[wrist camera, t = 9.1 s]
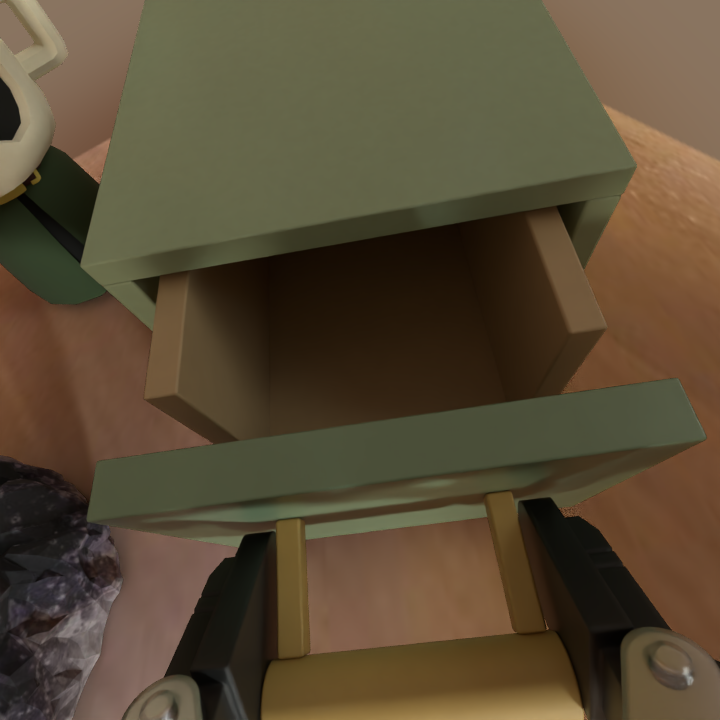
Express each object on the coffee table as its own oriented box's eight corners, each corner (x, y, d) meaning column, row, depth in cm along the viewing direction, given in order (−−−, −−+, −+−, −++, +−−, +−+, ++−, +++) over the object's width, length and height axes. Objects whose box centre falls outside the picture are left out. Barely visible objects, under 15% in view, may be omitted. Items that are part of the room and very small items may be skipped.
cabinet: (537, 363, 18) (639, 165, 9) (237, 408, 19) (78, 266, 10) (462, 132, 24) (480, -107, 16) (244, 173, 25) (151, -31, 17)
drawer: (624, 667, 12) (875, 779, 5) (236, 705, 13) (26, 843, 6) (480, 209, 21) (507, 21, 14) (246, 250, 21) (160, 94, 15)
